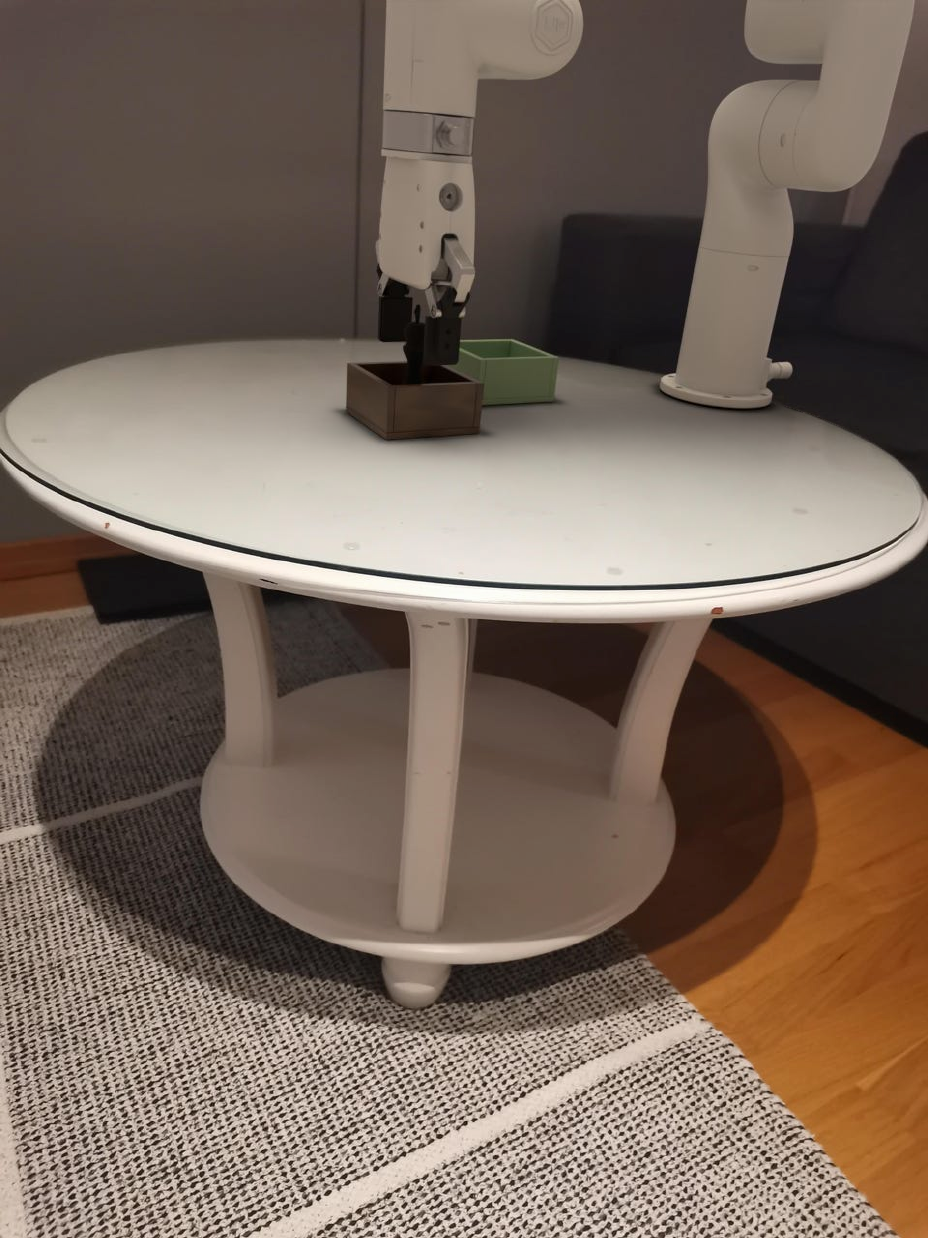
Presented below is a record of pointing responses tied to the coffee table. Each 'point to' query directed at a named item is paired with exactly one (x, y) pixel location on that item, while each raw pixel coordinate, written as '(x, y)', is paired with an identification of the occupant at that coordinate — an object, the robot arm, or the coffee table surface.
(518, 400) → the light bin
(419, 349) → the chess piece
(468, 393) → the dark bin
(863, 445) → the coffee table surface
